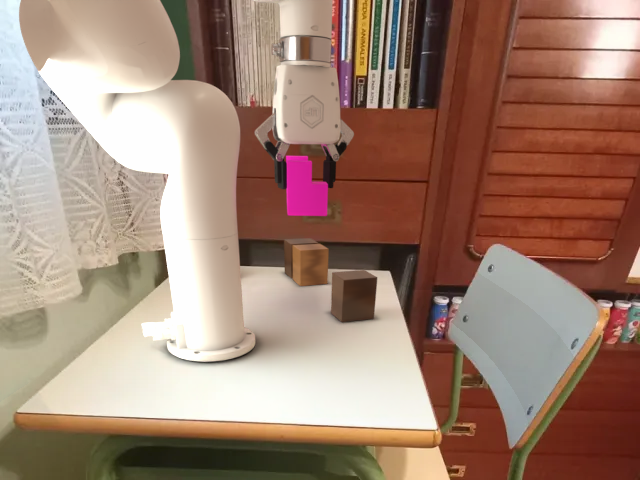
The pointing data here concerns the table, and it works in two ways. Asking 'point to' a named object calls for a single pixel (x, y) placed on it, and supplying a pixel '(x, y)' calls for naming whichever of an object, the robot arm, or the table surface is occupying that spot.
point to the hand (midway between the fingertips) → (305, 187)
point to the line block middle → (310, 264)
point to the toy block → (304, 189)
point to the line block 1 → (289, 252)
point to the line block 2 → (353, 295)
